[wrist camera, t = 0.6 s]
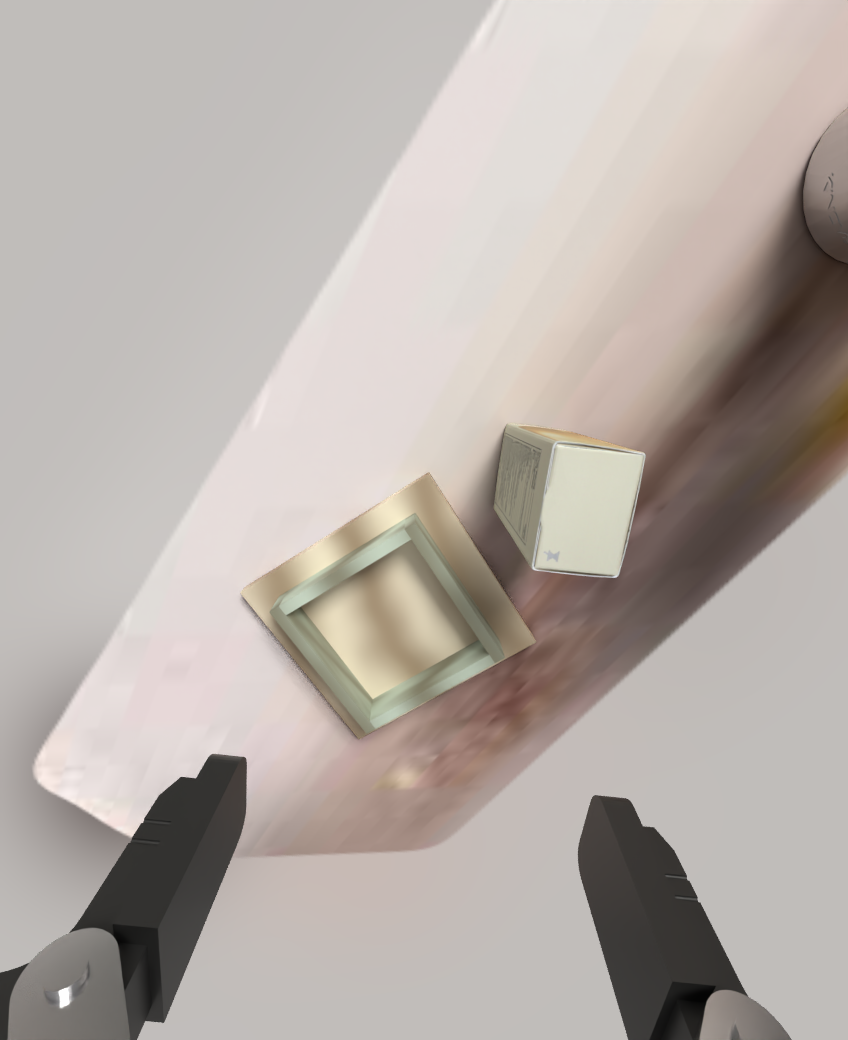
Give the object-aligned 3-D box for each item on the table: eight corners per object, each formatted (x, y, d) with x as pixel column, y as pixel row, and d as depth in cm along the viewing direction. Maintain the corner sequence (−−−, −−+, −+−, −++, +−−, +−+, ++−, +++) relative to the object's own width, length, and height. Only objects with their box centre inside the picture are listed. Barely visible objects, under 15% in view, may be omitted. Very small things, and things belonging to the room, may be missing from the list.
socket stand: (428, 472, 34) (430, 482, 30) (533, 635, 37) (544, 660, 34) (244, 587, 36) (227, 608, 33) (360, 730, 40) (355, 763, 36)
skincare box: (551, 516, 35) (619, 586, 23) (491, 509, 35) (528, 577, 23) (569, 425, 33) (652, 451, 21) (505, 417, 33) (554, 440, 21)
